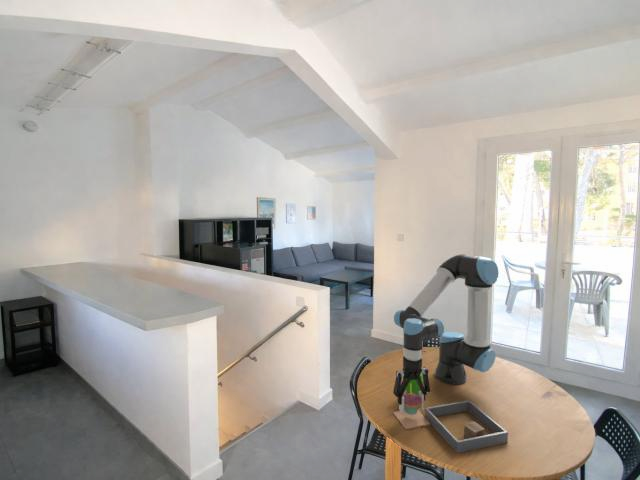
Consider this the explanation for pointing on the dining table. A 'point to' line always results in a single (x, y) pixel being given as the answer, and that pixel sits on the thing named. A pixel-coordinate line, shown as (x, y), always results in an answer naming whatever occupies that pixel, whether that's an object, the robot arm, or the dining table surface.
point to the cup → (414, 386)
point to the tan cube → (473, 430)
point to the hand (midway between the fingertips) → (411, 409)
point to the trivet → (411, 419)
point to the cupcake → (412, 402)
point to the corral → (471, 443)
